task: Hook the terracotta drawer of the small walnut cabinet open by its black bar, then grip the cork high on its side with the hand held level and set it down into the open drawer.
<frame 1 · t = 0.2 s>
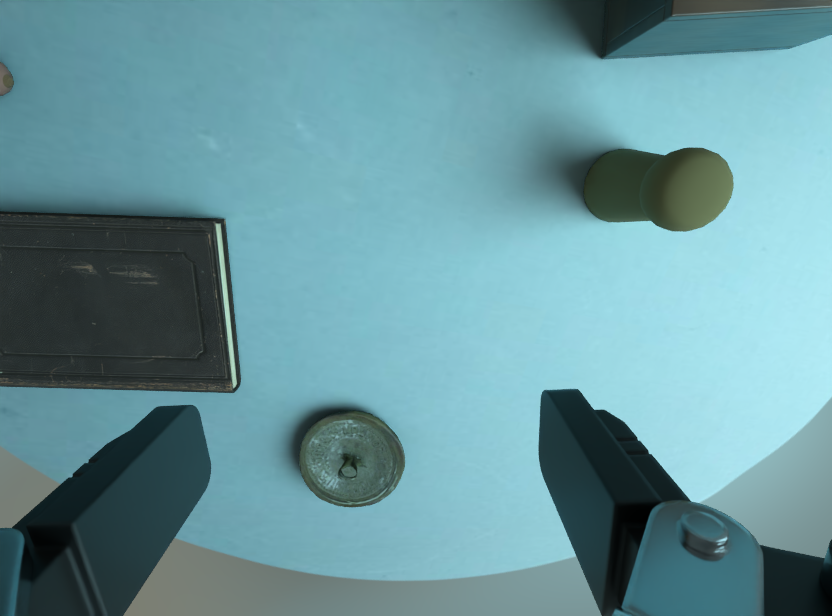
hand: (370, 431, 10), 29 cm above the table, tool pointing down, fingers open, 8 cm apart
lid: (353, 449, 44), on the table
cork: (618, 186, 37), on the table
hardcover book: (109, 302, 40), on the table
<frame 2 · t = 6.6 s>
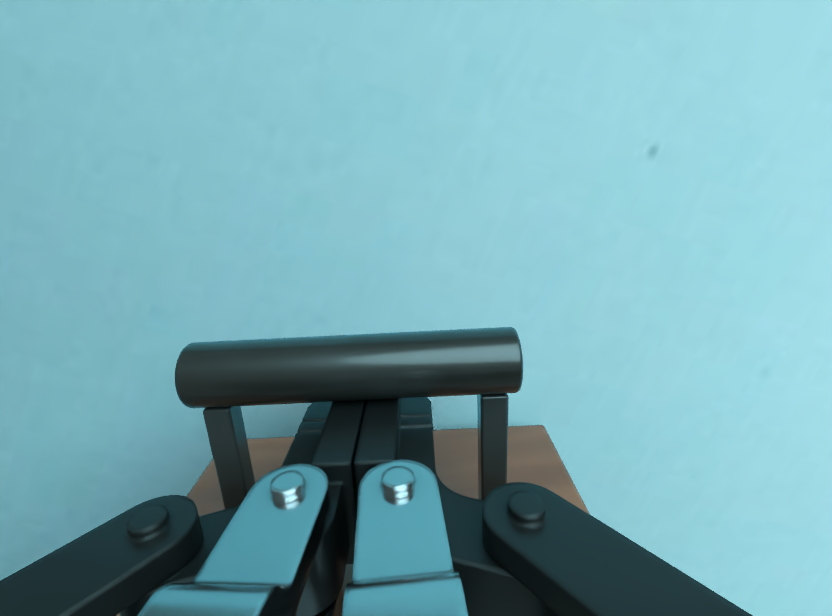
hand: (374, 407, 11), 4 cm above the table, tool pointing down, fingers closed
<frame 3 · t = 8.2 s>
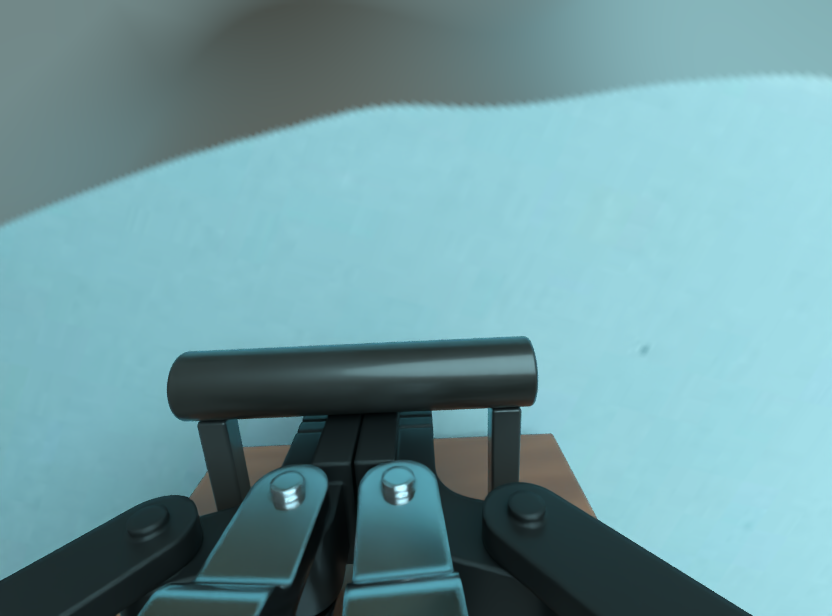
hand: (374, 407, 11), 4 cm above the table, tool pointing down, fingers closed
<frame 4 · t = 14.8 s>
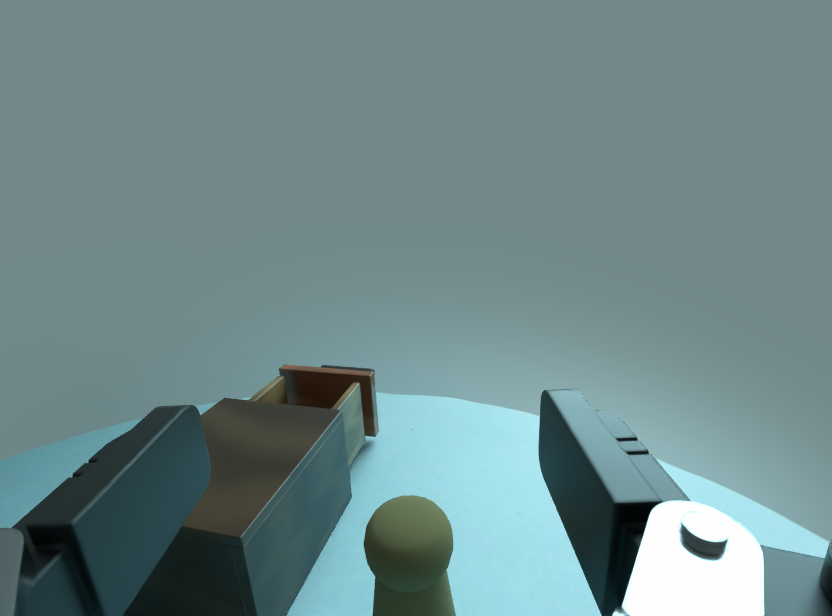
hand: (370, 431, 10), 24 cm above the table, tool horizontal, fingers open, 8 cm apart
cabinet: (250, 546, 37), on the table
drawer: (315, 415, 47), point 5 cm above the table, slide at 8.5 cm
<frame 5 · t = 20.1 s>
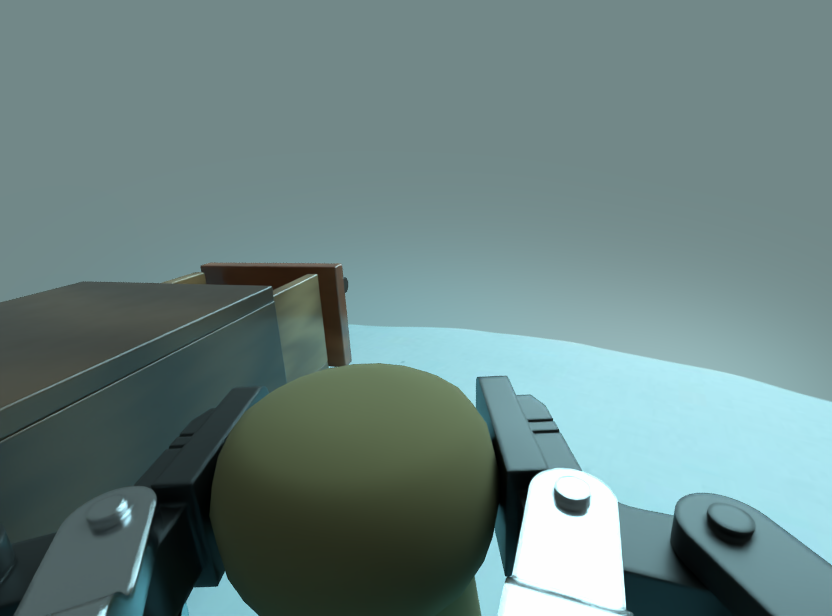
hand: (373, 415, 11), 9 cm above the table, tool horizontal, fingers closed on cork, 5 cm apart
cabinet: (93, 525, 20), on the table
drawer: (249, 329, 30), point 5 cm above the table, slide at 8.5 cm
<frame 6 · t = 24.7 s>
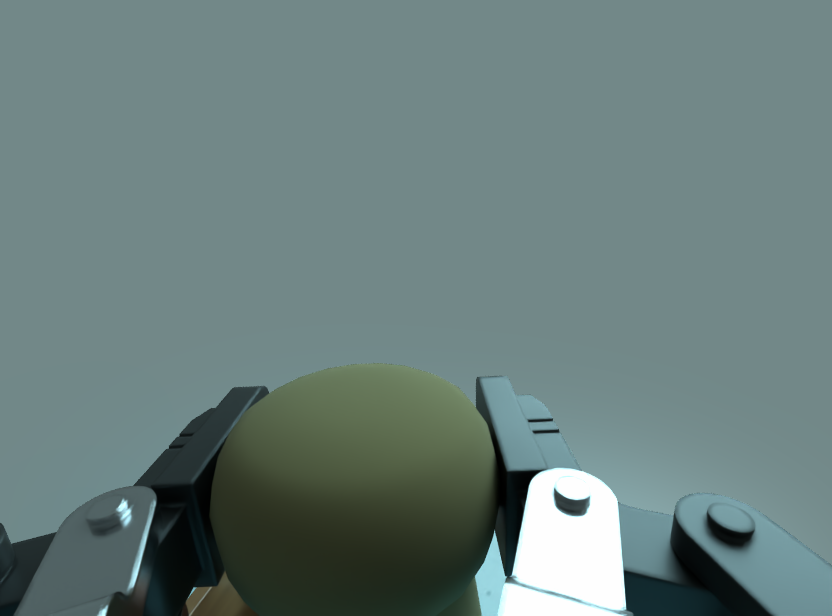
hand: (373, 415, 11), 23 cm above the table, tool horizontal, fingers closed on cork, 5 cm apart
drawer: (320, 602, 25), point 5 cm above the table, slide at 8.5 cm
when the fingers open (15 cm above the table, at t = 29.4 s): cork drops 4 cm, resting on drawer.
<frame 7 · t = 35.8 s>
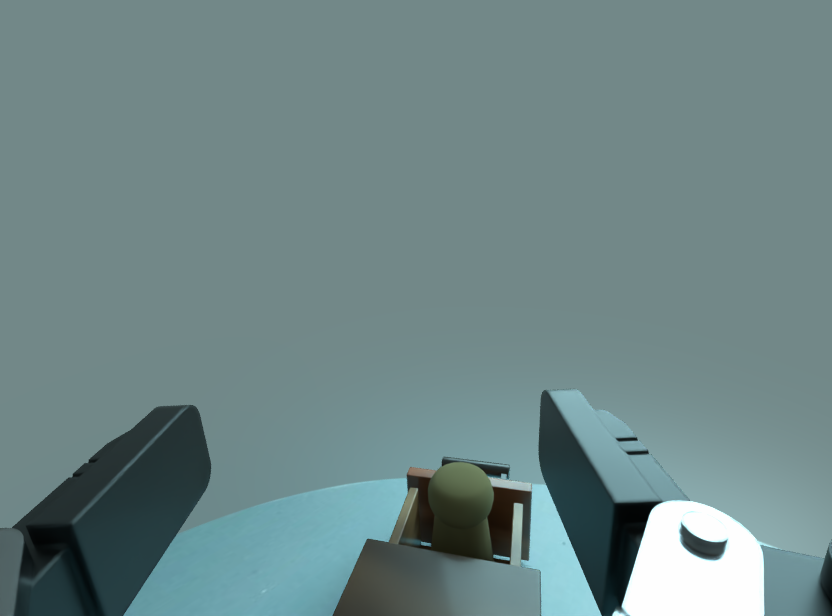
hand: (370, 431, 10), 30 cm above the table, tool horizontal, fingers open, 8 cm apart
cork: (462, 583, 37), point 2 cm above the table, touching drawer
drawer: (462, 541, 37), point 5 cm above the table, slide at 8.5 cm, touching cork
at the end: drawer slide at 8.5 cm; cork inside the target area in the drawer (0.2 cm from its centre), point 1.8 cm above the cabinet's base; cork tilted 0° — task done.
